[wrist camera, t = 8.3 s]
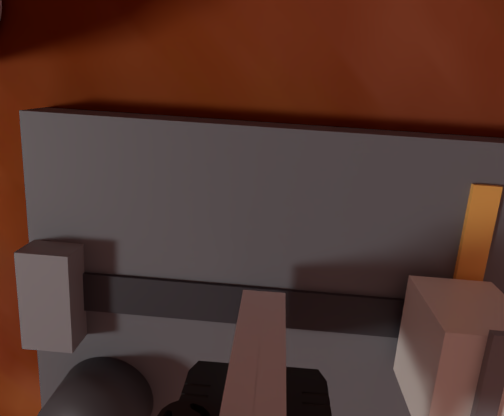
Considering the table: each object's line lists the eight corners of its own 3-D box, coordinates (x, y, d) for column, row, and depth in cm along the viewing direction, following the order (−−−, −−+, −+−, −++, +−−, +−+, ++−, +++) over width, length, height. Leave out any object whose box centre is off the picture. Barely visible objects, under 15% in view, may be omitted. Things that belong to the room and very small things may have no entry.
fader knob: (409, 270, 17) (450, 331, 13) (492, 276, 17) (560, 341, 13) (392, 373, 18) (424, 459, 14) (470, 380, 18) (525, 470, 14)
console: (46, 107, 19) (-27, 115, 14) (658, 148, 18) (783, 171, 13) (63, 398, 23) (10, 476, 18) (567, 448, 21) (641, 543, 17)
